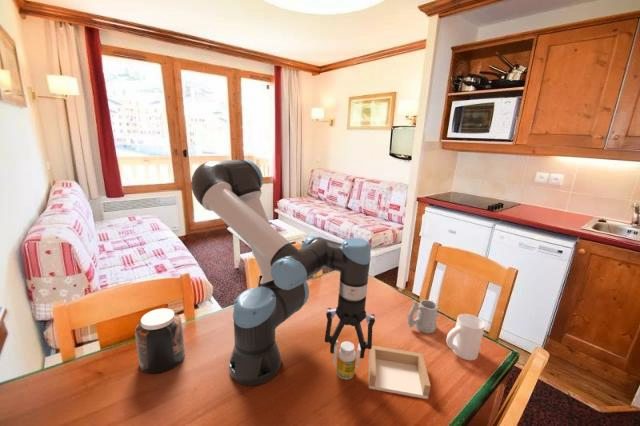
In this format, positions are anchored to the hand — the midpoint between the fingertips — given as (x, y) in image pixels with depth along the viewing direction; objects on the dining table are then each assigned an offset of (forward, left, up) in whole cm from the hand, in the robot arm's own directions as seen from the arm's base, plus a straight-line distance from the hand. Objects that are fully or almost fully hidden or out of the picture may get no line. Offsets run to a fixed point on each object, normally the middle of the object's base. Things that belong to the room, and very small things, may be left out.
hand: (346, 363), depth 83 cm
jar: (-55, -7, -4) cm, 56 cm away
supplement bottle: (0, 0, -4) cm, 4 cm away
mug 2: (+37, +17, -4) cm, 41 cm away
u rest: (+15, +2, -3) cm, 16 cm away
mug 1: (+26, +27, -4) cm, 38 cm away
